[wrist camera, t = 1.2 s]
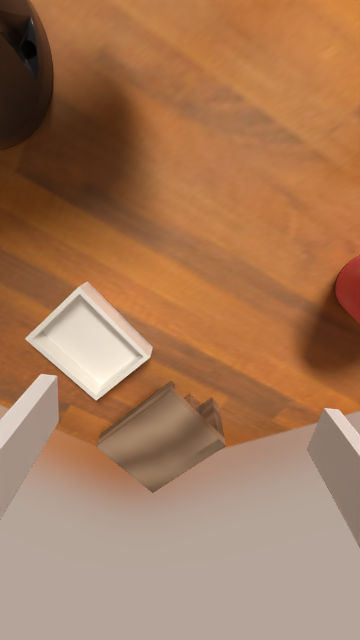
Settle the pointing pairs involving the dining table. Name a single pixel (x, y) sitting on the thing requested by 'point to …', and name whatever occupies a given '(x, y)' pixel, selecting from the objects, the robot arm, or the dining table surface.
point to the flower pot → (350, 288)
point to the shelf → (163, 437)
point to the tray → (90, 341)
